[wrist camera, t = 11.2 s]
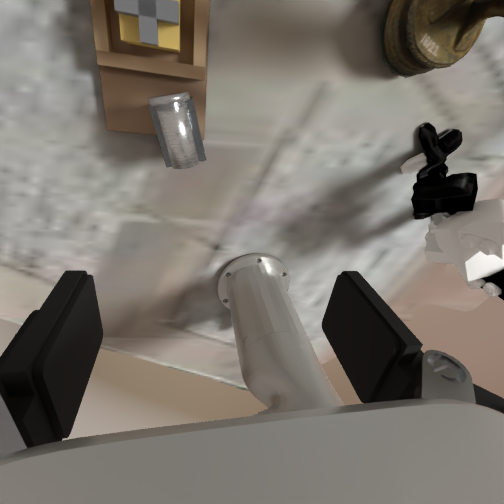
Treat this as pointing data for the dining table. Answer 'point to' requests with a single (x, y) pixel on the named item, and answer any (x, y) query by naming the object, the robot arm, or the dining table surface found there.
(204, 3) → the bed
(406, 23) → the statue
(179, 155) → the shaft
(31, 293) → the dining table surface
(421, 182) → the robot toy
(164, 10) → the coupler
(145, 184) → the dining table surface
